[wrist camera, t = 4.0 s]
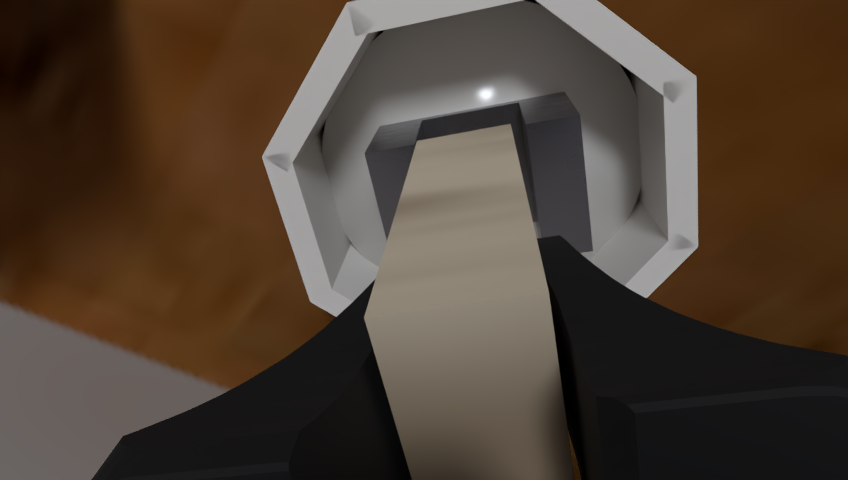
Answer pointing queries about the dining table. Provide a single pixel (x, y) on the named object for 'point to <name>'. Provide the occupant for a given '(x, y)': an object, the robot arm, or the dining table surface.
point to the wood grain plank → (469, 319)
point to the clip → (537, 152)
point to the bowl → (478, 87)
